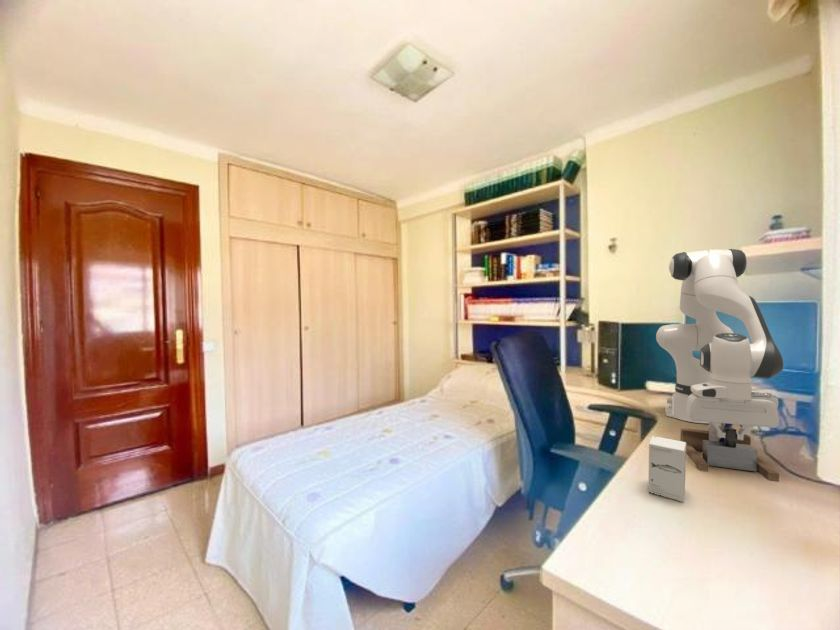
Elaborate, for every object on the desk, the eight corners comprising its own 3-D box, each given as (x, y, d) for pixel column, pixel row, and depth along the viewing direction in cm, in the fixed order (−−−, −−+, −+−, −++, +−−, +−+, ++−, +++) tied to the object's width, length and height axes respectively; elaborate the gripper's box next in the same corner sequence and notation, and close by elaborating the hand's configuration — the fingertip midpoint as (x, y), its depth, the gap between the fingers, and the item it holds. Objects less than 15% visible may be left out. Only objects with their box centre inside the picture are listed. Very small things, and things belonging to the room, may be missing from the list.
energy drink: (736, 462, 104) (736, 422, 104) (715, 461, 105) (715, 421, 105) (724, 455, 109) (724, 417, 109) (704, 453, 110) (705, 416, 110)
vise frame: (680, 446, 116) (680, 427, 116) (746, 454, 109) (746, 434, 109) (699, 470, 99) (699, 448, 99) (778, 481, 93) (778, 457, 93)
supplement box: (647, 493, 88) (647, 443, 87) (651, 481, 93) (651, 434, 93) (684, 503, 83) (684, 450, 83) (686, 490, 88) (686, 441, 88)
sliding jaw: (702, 459, 105) (702, 423, 105) (749, 465, 101) (749, 427, 101) (707, 465, 102) (708, 427, 101) (756, 472, 97) (757, 432, 97)
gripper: (772, 391, 99) (771, 439, 99) (684, 385, 107) (684, 430, 107) (784, 396, 93) (784, 447, 94) (691, 390, 101) (690, 437, 101)
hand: (729, 438), depth 101 cm, fingers closed on sliding jaw, 3 cm apart
